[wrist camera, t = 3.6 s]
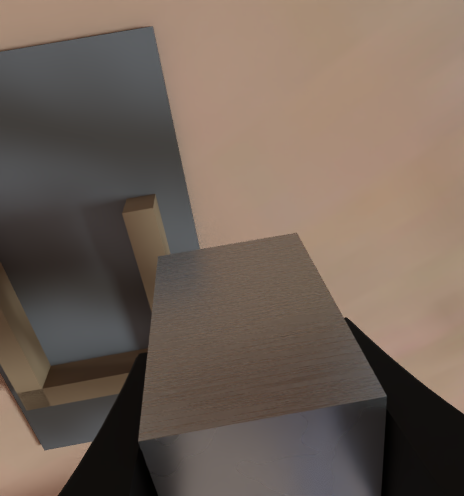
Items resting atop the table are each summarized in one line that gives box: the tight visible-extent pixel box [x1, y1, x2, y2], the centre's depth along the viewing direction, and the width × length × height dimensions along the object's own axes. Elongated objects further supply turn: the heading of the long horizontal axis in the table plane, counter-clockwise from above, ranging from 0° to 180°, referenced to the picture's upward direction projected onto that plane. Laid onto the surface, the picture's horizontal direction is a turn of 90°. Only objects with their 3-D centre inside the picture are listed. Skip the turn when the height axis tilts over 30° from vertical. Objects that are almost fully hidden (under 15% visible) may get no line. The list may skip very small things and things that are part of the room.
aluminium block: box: [138, 233, 387, 496], centre depth 10 cm, size 4×4×6 cm
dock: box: [0, 26, 200, 450], centre depth 19 cm, size 20×11×2 cm, turn 9°
